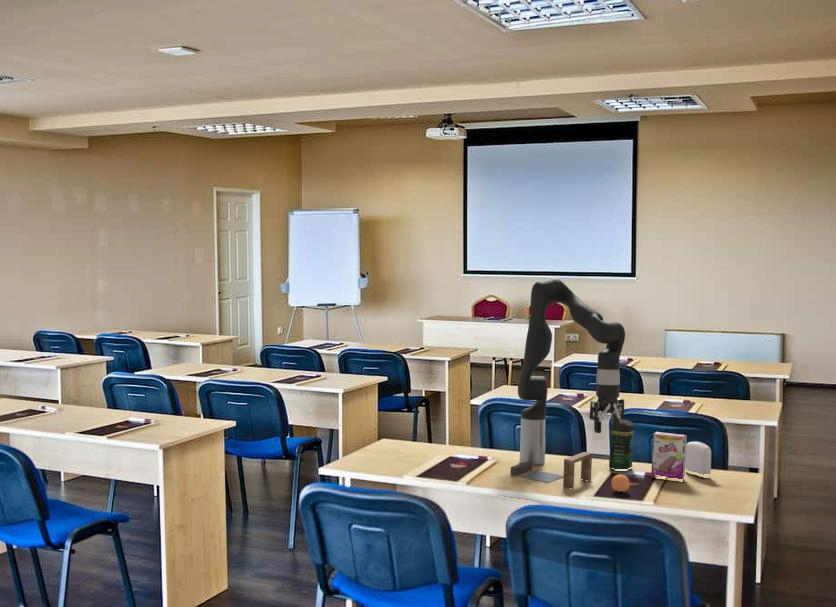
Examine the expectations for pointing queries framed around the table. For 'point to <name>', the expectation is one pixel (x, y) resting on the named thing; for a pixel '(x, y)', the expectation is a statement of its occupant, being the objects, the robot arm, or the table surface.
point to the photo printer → (698, 458)
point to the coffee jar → (621, 445)
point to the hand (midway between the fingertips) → (606, 431)
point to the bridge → (569, 468)
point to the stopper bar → (521, 468)
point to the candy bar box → (669, 455)
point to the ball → (620, 483)
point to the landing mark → (541, 476)
